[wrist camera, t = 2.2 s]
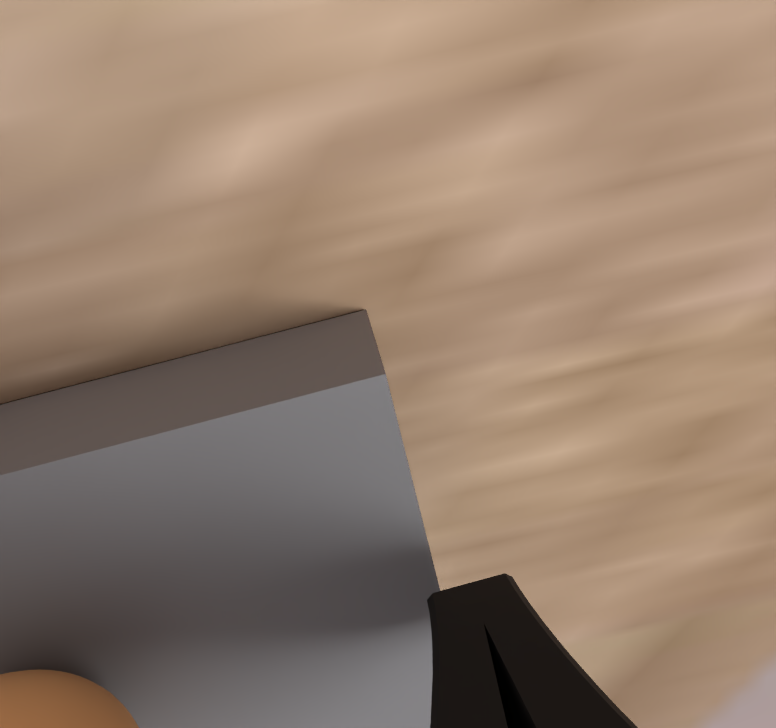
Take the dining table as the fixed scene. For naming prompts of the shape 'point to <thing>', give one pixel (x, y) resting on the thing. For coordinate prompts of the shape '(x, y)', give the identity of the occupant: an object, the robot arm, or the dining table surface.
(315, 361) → the board
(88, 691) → the ball
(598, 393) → the dining table surface
